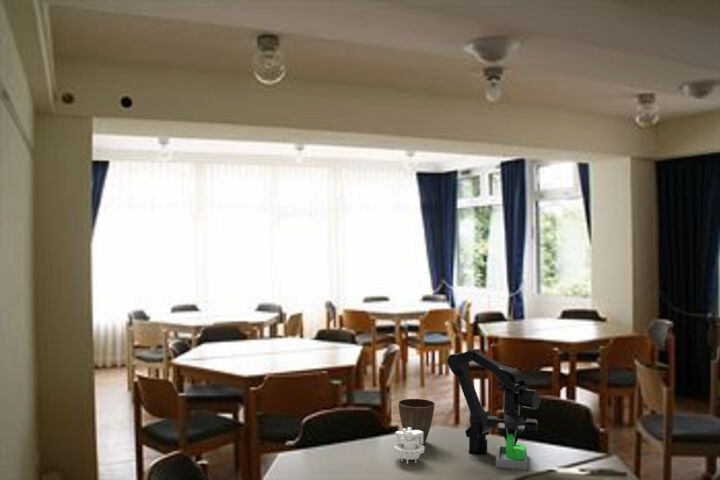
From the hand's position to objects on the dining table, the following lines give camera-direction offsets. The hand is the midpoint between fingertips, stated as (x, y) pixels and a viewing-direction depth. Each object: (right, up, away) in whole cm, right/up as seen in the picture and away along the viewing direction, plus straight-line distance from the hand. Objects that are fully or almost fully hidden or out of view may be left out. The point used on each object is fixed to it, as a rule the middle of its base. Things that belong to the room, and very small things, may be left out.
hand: (511, 446), depth 237 cm
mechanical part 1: (-38, -6, 0) cm, 38 cm away
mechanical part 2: (+2, -3, -1) cm, 4 cm away
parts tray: (0, -6, 0) cm, 6 cm away
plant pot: (-33, -6, +22) cm, 41 cm away
